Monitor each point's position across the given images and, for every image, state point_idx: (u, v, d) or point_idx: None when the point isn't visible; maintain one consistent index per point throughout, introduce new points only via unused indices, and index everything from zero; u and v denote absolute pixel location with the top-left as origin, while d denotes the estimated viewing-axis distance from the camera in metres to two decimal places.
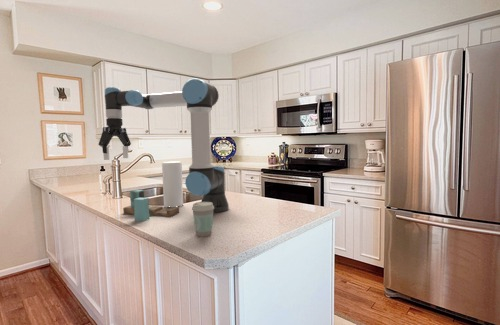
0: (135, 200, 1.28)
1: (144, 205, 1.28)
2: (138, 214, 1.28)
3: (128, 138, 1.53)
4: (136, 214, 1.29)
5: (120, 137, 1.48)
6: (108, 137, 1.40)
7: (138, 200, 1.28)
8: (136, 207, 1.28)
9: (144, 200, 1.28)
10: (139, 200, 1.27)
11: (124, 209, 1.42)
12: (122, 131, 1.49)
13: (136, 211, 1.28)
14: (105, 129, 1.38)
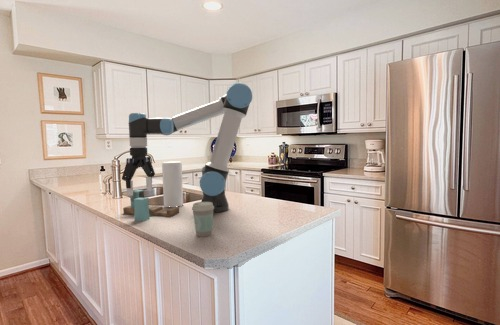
0: (135, 200, 1.28)
1: (143, 205, 1.28)
2: (138, 214, 1.28)
3: (152, 168, 1.36)
4: (136, 214, 1.29)
5: (144, 167, 1.32)
6: (132, 169, 1.24)
7: (138, 200, 1.28)
8: (136, 207, 1.28)
9: (144, 200, 1.28)
10: (139, 200, 1.27)
11: (124, 209, 1.42)
12: (146, 160, 1.33)
13: (136, 211, 1.28)
14: (129, 161, 1.22)
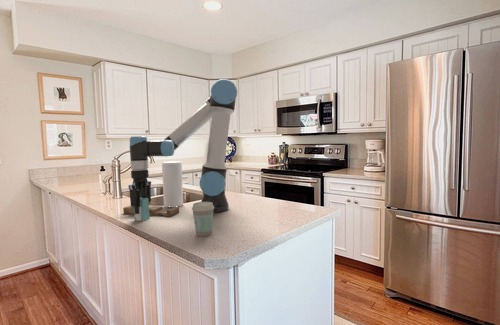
0: None
1: (143, 205, 1.28)
2: None
3: (150, 193, 1.34)
4: None
5: (143, 191, 1.31)
6: (137, 195, 1.27)
7: None
8: None
9: (144, 200, 1.28)
10: None
11: (124, 209, 1.42)
12: (146, 184, 1.33)
13: None
14: (132, 188, 1.23)
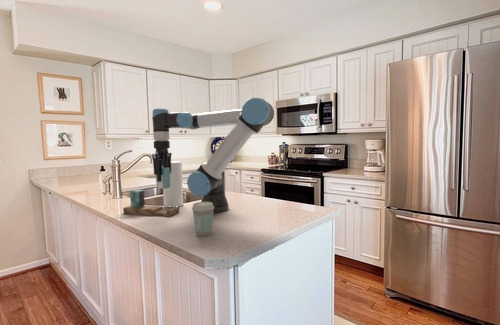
0: None
1: (165, 174, 1.36)
2: None
3: (170, 164, 1.43)
4: None
5: (164, 161, 1.39)
6: (159, 164, 1.35)
7: None
8: None
9: (166, 169, 1.36)
10: None
11: (124, 209, 1.42)
12: (167, 155, 1.41)
13: None
14: (155, 157, 1.31)
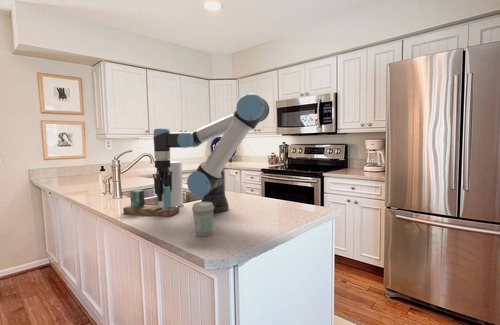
0: None
1: (166, 193, 1.36)
2: None
3: (171, 183, 1.43)
4: None
5: (165, 180, 1.40)
6: (160, 183, 1.35)
7: None
8: None
9: (166, 188, 1.37)
10: None
11: (124, 209, 1.42)
12: (168, 173, 1.42)
13: None
14: (156, 177, 1.32)
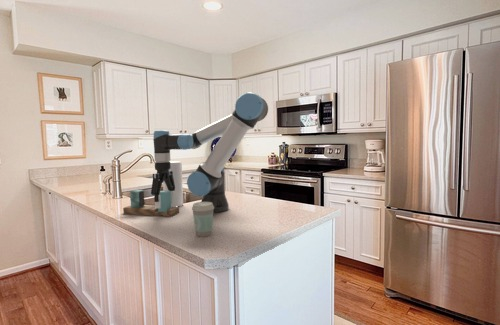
0: None
1: (167, 198, 1.37)
2: (162, 206, 1.37)
3: (173, 182, 1.45)
4: None
5: (167, 181, 1.41)
6: (158, 184, 1.34)
7: (161, 193, 1.37)
8: None
9: (167, 193, 1.37)
10: (163, 193, 1.36)
11: (124, 209, 1.42)
12: (169, 174, 1.43)
13: None
14: (155, 176, 1.31)
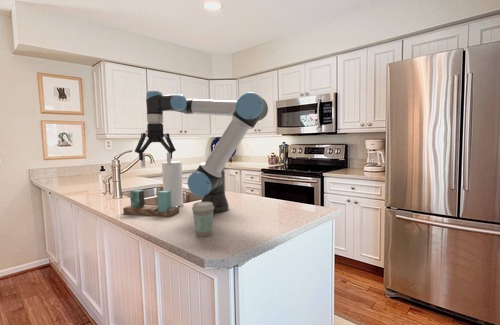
0: (158, 193, 1.37)
1: (167, 198, 1.37)
2: (162, 206, 1.37)
3: (172, 144, 1.42)
4: (159, 206, 1.38)
5: (162, 143, 1.40)
6: (146, 143, 1.33)
7: (161, 193, 1.37)
8: (159, 199, 1.37)
9: (167, 193, 1.37)
10: (163, 193, 1.36)
11: (124, 209, 1.42)
12: (165, 137, 1.40)
13: (159, 203, 1.37)
14: (142, 135, 1.32)
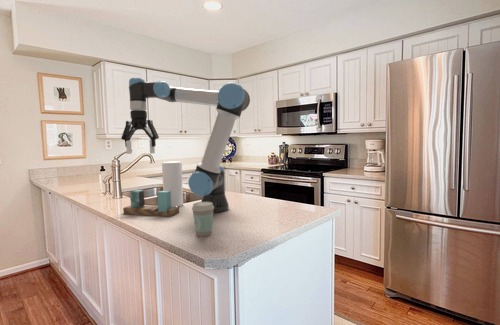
0: (158, 193, 1.37)
1: (167, 198, 1.37)
2: (162, 206, 1.37)
3: (152, 131, 1.34)
4: (159, 206, 1.38)
5: None
6: None
7: (161, 193, 1.37)
8: (159, 199, 1.37)
9: (167, 193, 1.37)
10: (163, 193, 1.36)
11: (124, 209, 1.42)
12: (147, 123, 1.36)
13: (159, 203, 1.37)
14: None
